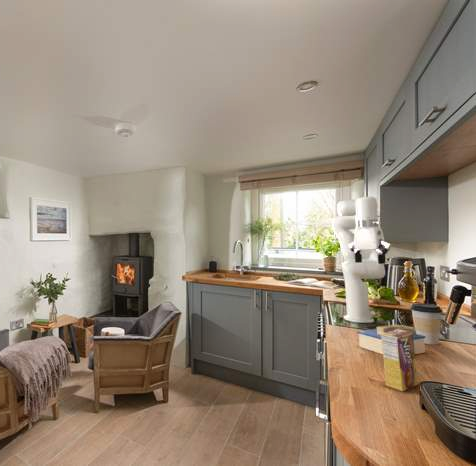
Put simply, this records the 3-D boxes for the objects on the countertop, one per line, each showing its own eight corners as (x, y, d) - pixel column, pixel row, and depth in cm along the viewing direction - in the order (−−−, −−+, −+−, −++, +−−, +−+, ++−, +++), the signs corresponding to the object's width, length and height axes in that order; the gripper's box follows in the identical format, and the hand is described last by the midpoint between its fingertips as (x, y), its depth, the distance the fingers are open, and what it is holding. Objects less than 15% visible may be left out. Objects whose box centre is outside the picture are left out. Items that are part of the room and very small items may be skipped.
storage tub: (388, 341, 120) (387, 327, 121) (426, 352, 108) (425, 336, 108) (358, 346, 116) (357, 331, 116) (393, 358, 104) (392, 341, 104)
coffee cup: (412, 342, 119) (409, 305, 119) (412, 337, 125) (409, 302, 126) (446, 348, 112) (443, 308, 113) (444, 341, 119) (441, 304, 119)
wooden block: (402, 329, 117) (401, 322, 117) (415, 332, 113) (415, 325, 113) (374, 333, 113) (373, 326, 113) (386, 336, 109) (386, 329, 109)
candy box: (400, 378, 89) (396, 328, 89) (418, 384, 85) (414, 332, 85) (383, 385, 85) (380, 332, 86) (402, 391, 81) (398, 336, 82)
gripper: (395, 223, 122) (398, 263, 121) (354, 226, 139) (356, 261, 138) (382, 223, 120) (385, 264, 119) (341, 226, 137) (344, 262, 136)
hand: (369, 263), depth 129 cm, fingers open, 9 cm apart
